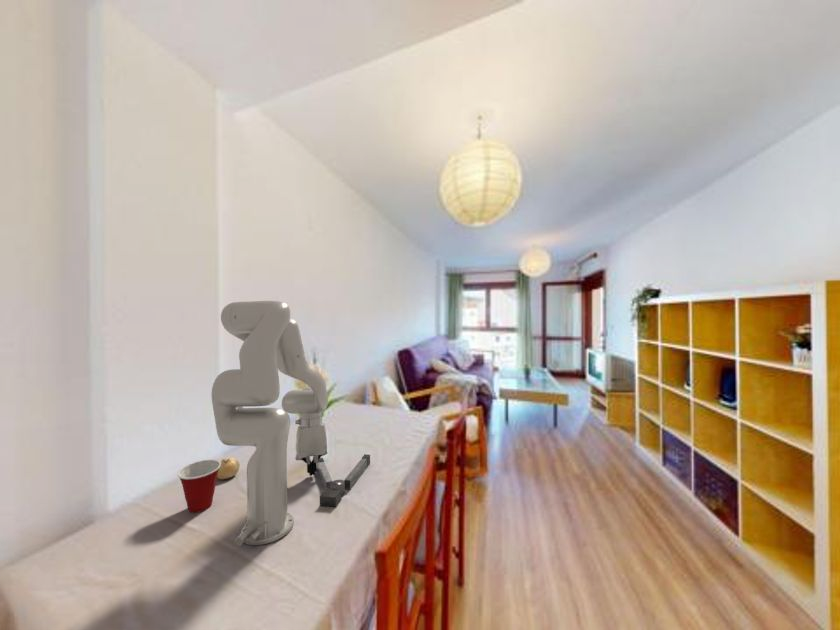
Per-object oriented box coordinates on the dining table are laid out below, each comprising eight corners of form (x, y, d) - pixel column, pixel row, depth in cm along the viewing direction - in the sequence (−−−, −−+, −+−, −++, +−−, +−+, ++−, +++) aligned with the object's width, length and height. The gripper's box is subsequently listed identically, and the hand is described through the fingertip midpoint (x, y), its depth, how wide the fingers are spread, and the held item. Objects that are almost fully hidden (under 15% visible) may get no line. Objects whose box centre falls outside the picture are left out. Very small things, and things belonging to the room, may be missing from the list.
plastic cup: (172, 522, 90) (171, 478, 90) (183, 502, 100) (183, 463, 100) (217, 513, 94) (217, 470, 94) (224, 495, 104) (224, 457, 104)
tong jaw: (346, 496, 102) (346, 484, 102) (328, 500, 99) (328, 488, 99) (331, 465, 124) (331, 455, 124) (316, 468, 122) (316, 458, 122)
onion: (208, 479, 115) (208, 459, 115) (230, 470, 122) (230, 451, 122) (223, 484, 112) (223, 463, 112) (244, 474, 119) (244, 454, 119)
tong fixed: (337, 507, 95) (337, 495, 95) (319, 506, 96) (319, 494, 96) (370, 463, 125) (370, 454, 125) (356, 462, 126) (356, 454, 126)
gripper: (289, 428, 108) (290, 483, 108) (334, 420, 115) (335, 473, 115) (287, 422, 115) (288, 474, 115) (330, 415, 122) (331, 465, 122)
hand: (311, 473), depth 115 cm, fingers closed
